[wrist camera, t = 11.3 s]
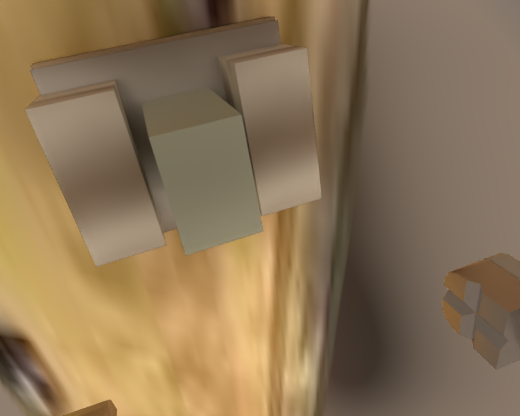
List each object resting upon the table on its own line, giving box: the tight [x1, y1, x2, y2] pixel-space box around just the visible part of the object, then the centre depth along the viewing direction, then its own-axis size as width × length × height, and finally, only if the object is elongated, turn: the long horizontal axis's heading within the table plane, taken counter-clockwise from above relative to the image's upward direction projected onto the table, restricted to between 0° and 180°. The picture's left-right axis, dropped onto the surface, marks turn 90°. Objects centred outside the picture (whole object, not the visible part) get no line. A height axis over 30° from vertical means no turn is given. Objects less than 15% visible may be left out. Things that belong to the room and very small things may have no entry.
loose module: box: [141, 87, 263, 255], centre depth 21 cm, size 6×4×8 cm, turn 10°
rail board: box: [25, 17, 321, 267], centre depth 24 cm, size 12×14×6 cm
